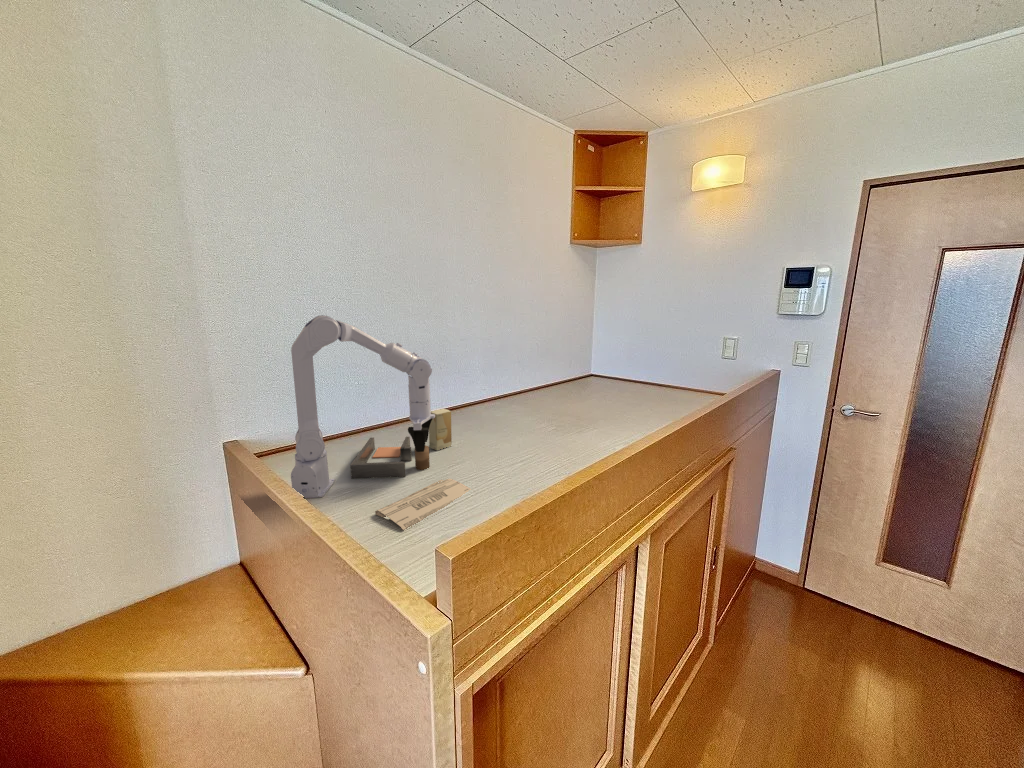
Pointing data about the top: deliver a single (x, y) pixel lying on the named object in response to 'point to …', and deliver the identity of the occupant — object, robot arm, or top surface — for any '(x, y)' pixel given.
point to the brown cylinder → (422, 459)
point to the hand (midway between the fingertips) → (421, 446)
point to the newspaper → (423, 502)
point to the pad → (387, 452)
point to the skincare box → (440, 430)
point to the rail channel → (379, 463)
